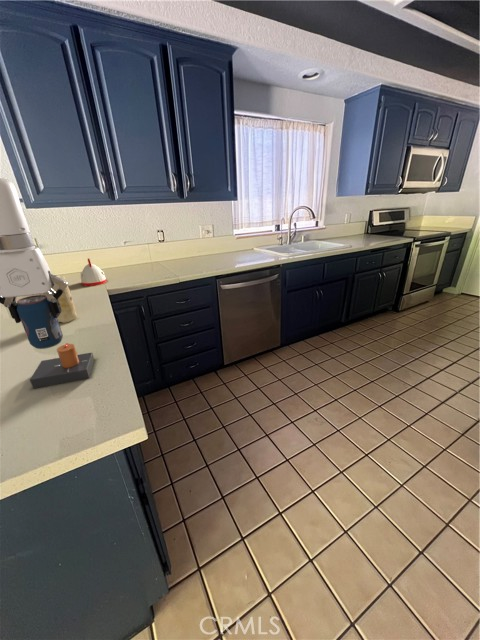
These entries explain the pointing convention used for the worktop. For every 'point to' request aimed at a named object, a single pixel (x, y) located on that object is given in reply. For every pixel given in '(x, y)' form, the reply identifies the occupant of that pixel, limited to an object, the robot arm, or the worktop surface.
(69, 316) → the food model
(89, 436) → the worktop surface
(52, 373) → the cooker panel
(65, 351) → the knob
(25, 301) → the soda can
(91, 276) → the kitchen timer
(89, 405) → the worktop surface
